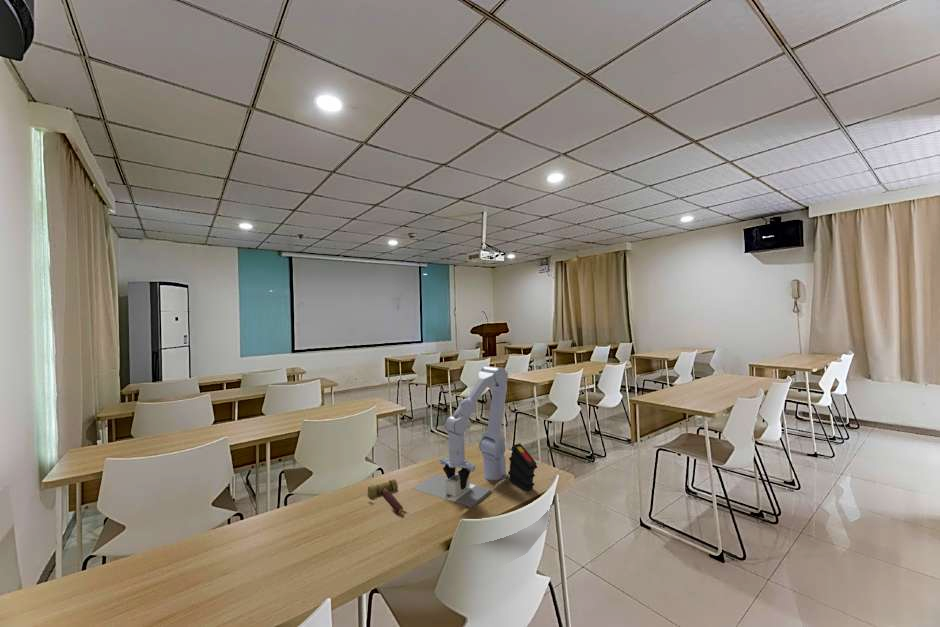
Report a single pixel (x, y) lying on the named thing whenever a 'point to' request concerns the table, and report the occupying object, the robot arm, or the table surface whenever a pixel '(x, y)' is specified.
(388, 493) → the gavel
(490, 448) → the robot arm
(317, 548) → the table surface
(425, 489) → the board
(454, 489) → the block
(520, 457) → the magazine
